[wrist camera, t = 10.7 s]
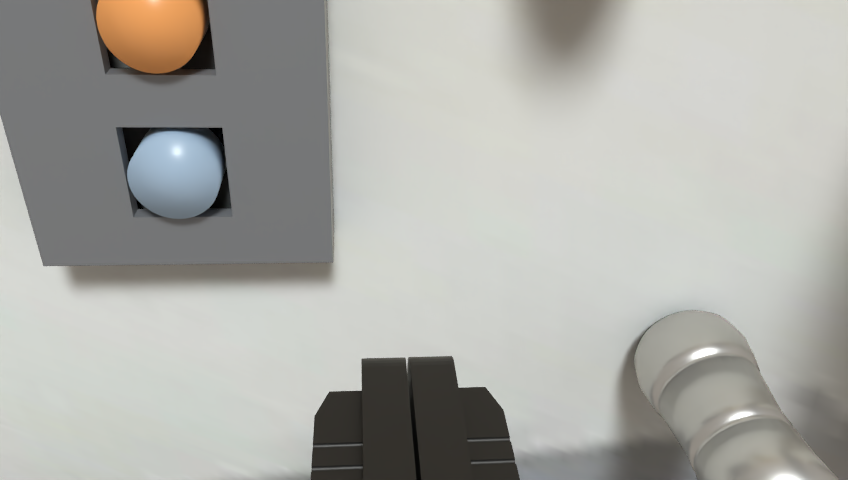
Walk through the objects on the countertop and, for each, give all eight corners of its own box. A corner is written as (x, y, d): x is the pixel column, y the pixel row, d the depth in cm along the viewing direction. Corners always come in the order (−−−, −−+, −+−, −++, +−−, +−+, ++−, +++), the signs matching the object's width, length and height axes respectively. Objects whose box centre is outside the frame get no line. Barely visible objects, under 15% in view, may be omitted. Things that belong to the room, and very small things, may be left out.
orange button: (203, -39, 31) (193, -26, 29) (214, 55, 33) (205, 74, 31) (104, -41, 30) (86, -28, 28) (122, 54, 32) (106, 73, 30)
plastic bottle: (605, 335, 45) (756, 669, 28) (704, 276, 43) (929, 595, 26) (653, 393, 48) (815, 725, 31) (747, 340, 46) (974, 663, 29)
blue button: (222, 118, 34) (213, 140, 32) (230, 194, 36) (223, 218, 34) (133, 118, 34) (119, 139, 32) (147, 194, 36) (135, 219, 34)
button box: (316, -330, 27) (313, -341, 24) (334, 231, 39) (332, 262, 37) (-89, -354, 26) (-138, -368, 23) (64, 233, 38) (43, 266, 36)
